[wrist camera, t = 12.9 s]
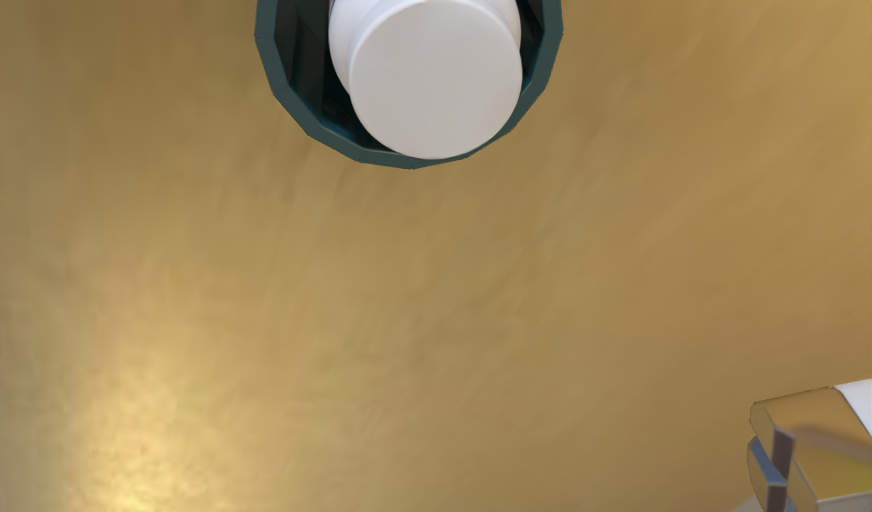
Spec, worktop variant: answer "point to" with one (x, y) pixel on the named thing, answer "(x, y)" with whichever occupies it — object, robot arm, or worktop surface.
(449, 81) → the pill bottle
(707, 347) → the worktop surface
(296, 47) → the holder
